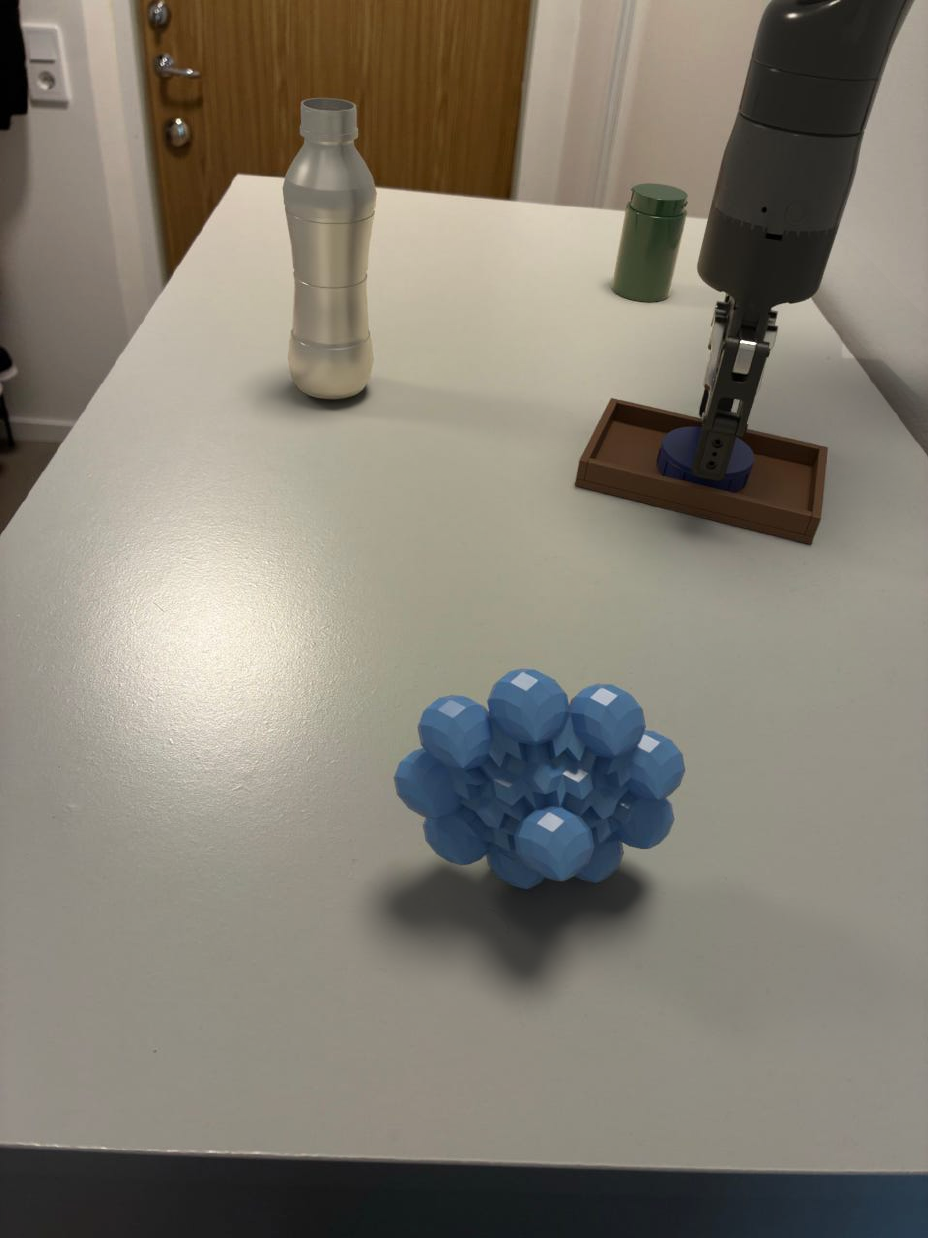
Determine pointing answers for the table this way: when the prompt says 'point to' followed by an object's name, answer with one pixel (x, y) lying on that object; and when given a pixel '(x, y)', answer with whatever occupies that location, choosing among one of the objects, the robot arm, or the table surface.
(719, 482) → the jar lid
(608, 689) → the blue ball cluster
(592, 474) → the serving tray
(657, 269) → the jam jar
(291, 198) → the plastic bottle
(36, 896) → the table surface
